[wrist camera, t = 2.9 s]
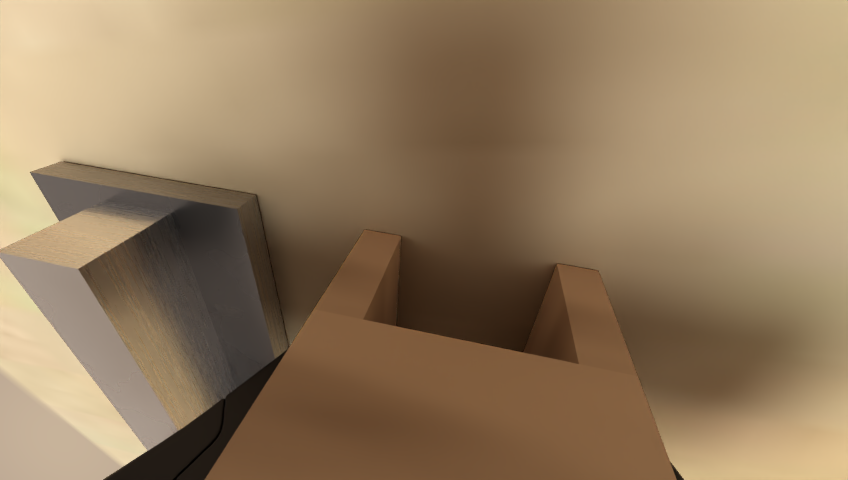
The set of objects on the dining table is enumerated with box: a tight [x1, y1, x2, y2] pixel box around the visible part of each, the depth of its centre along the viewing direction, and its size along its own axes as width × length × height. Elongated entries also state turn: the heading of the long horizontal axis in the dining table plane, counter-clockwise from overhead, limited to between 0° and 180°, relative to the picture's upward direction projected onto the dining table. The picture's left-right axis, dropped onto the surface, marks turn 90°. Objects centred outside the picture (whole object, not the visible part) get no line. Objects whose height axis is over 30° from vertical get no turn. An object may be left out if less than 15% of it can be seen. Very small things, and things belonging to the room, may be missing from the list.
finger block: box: [205, 230, 677, 480], centre depth 8 cm, size 5×6×6 cm
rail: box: [0, 162, 288, 450], centre depth 13 cm, size 18×6×3 cm, turn 175°
